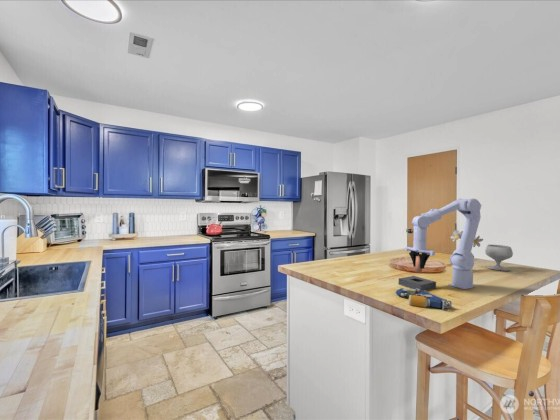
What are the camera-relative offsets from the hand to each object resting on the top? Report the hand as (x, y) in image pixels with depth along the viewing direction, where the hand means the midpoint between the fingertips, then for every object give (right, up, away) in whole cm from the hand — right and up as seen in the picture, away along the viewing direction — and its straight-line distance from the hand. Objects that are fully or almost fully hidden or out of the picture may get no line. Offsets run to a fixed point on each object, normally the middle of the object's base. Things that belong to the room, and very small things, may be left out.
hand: (418, 267), depth 137 cm
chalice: (+73, -10, +42) cm, 84 cm away
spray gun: (-10, -11, -21) cm, 26 cm away
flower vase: (+46, -10, +36) cm, 59 cm away
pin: (0, -3, 0) cm, 2 cm away
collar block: (-1, -9, +1) cm, 10 cm away
